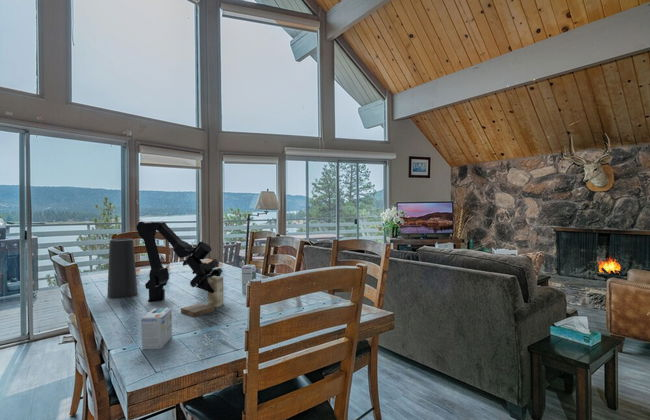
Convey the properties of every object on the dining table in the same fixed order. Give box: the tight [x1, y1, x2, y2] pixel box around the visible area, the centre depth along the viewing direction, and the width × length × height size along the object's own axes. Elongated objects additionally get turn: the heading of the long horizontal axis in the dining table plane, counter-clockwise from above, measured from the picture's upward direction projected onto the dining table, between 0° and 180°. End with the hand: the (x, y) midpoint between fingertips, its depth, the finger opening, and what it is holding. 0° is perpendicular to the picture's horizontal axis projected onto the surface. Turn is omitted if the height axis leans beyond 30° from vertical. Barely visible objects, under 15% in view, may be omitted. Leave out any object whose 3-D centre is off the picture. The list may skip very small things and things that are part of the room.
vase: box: [106, 237, 138, 299], centre depth 187 cm, size 14×14×29 cm
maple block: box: [207, 275, 224, 308], centre depth 169 cm, size 5×5×13 cm
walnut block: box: [180, 302, 215, 318], centre depth 159 cm, size 10×10×2 cm
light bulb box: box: [140, 307, 173, 350], centre depth 124 cm, size 11×7×11 cm, turn 5°
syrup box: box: [241, 264, 257, 295], centre depth 191 cm, size 6×6×14 cm
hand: (218, 290), depth 169 cm, fingers open, 7 cm apart
